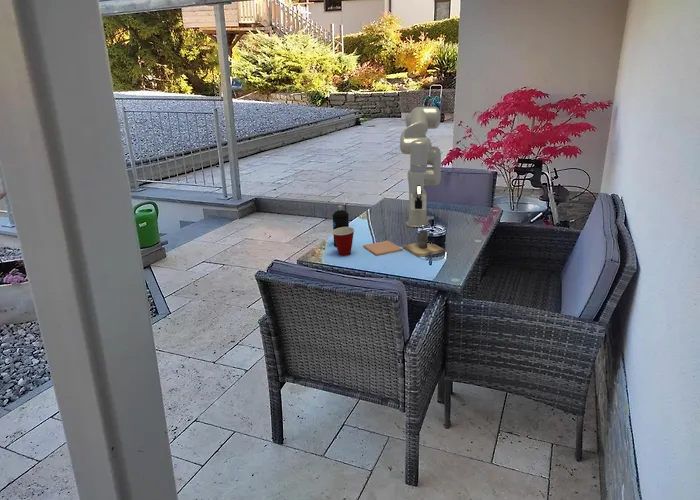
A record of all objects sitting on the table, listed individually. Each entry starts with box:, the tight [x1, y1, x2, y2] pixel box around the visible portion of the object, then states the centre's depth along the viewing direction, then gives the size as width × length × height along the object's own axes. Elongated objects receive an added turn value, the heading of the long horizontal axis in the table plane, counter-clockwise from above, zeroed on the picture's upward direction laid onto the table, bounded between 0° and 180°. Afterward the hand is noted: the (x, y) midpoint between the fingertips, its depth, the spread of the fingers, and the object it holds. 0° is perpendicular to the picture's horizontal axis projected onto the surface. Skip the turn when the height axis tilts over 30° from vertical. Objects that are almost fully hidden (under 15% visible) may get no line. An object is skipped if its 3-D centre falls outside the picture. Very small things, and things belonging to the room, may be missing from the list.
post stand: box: [402, 229, 445, 258], centre depth 240 cm, size 14×14×10 cm
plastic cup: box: [331, 226, 355, 257], centre depth 238 cm, size 11×11×12 cm
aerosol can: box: [331, 205, 350, 248], centre depth 249 cm, size 8×8×20 cm
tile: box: [362, 240, 403, 257], centre depth 245 cm, size 14×14×1 cm
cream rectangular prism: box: [411, 194, 427, 211], centre depth 234 cm, size 7×7×6 cm
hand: (418, 206), depth 235 cm, fingers closed on cream rectangular prism, 6 cm apart
